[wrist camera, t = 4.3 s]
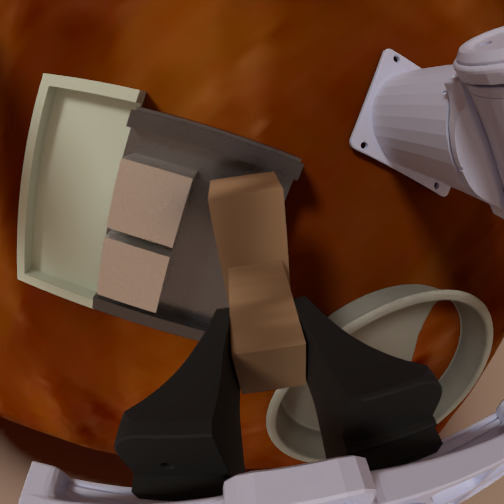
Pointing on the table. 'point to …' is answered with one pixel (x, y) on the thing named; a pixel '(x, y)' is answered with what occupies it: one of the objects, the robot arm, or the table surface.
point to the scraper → (258, 281)
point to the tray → (70, 182)
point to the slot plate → (195, 214)
